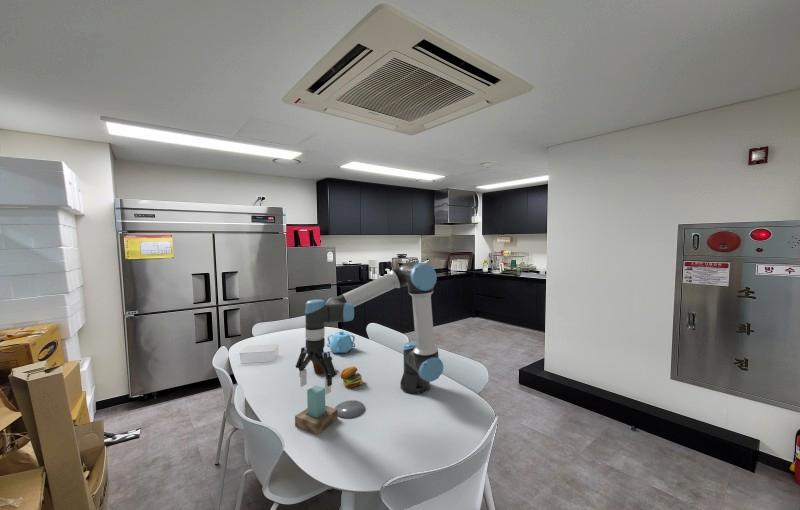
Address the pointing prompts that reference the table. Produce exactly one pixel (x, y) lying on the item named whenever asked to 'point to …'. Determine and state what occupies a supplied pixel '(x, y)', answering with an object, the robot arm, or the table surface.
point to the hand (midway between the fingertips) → (315, 389)
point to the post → (316, 401)
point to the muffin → (318, 367)
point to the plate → (350, 409)
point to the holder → (316, 420)
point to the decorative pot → (341, 342)
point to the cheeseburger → (351, 377)
